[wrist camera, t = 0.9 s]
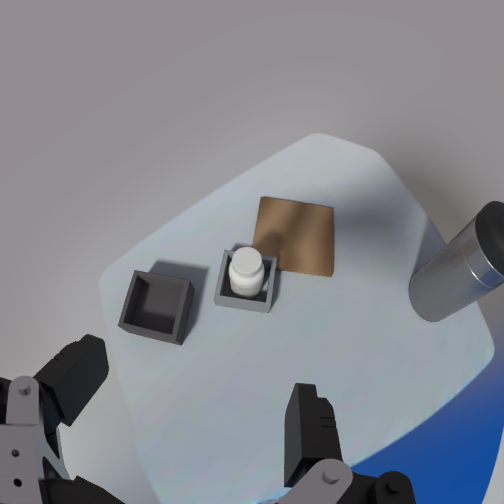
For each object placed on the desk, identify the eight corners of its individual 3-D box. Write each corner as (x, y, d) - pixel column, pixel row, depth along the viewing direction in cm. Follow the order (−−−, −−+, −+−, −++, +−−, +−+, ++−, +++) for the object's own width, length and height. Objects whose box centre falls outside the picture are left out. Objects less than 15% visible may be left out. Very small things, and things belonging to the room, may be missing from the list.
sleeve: (274, 265, 40) (276, 257, 38) (268, 313, 37) (270, 307, 35) (225, 258, 41) (224, 249, 38) (215, 304, 37) (213, 298, 35)
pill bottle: (241, 265, 40) (241, 236, 33) (267, 280, 39) (273, 254, 32) (224, 289, 38) (220, 264, 32) (251, 305, 37) (253, 284, 31)
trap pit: (194, 289, 38) (189, 280, 35) (181, 345, 34) (175, 340, 31) (142, 280, 39) (134, 270, 35) (127, 332, 35) (117, 325, 32)
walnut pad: (331, 211, 45) (332, 208, 44) (330, 277, 40) (332, 274, 39) (260, 200, 46) (260, 196, 45) (249, 265, 40) (249, 262, 39)
